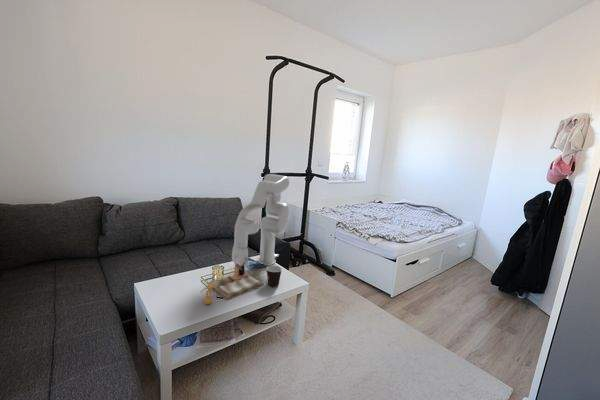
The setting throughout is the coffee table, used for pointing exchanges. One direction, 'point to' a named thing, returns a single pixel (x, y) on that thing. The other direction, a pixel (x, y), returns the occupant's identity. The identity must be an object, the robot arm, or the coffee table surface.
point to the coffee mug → (273, 275)
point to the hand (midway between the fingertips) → (239, 273)
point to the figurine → (208, 298)
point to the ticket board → (235, 286)
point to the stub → (236, 274)
